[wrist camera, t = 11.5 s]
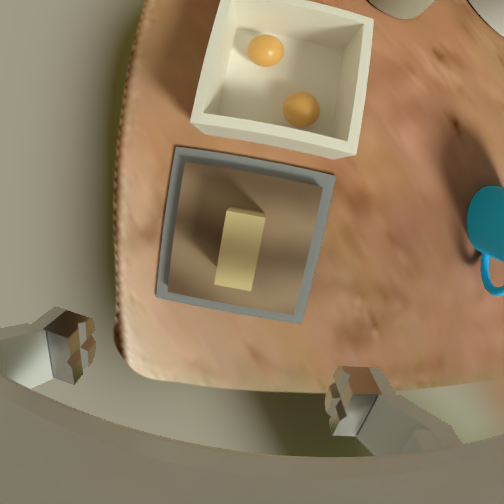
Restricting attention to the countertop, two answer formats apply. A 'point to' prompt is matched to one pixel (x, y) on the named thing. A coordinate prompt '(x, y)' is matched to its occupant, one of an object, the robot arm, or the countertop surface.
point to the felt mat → (253, 167)
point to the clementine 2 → (301, 109)
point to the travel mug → (402, 7)
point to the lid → (242, 237)
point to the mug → (487, 230)
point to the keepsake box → (286, 75)
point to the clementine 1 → (265, 50)
